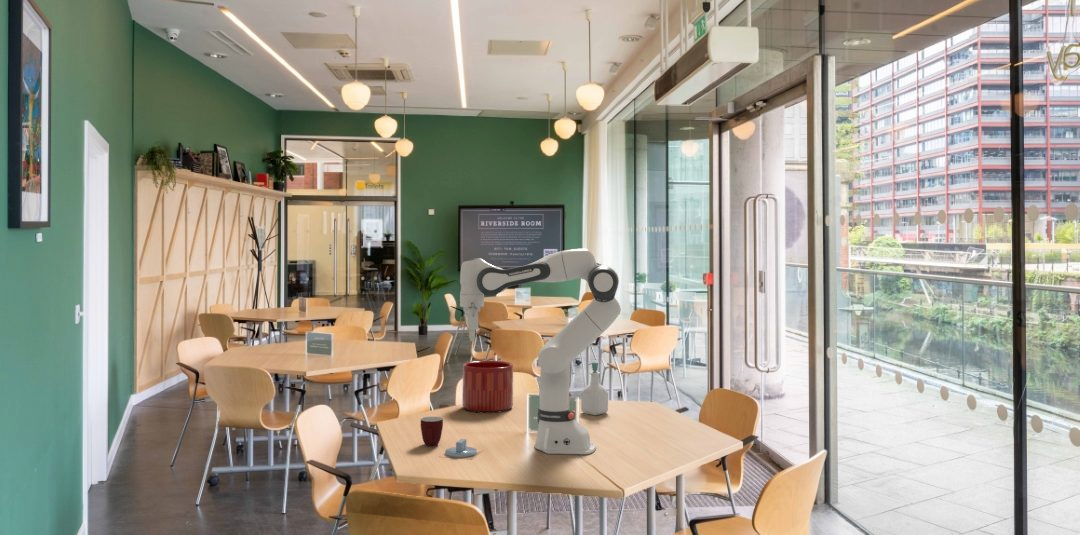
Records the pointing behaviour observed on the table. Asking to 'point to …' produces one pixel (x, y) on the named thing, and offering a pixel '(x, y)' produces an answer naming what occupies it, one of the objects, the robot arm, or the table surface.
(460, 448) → the lid
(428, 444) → the mug
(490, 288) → the robot arm
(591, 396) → the soap bottle
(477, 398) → the planter
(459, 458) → the mat
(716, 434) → the table surface
